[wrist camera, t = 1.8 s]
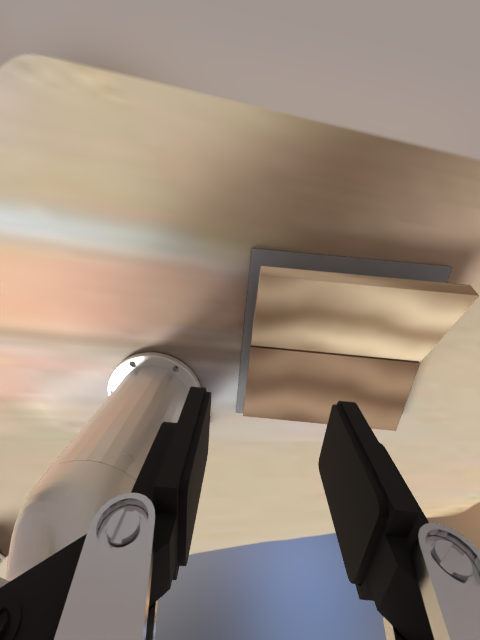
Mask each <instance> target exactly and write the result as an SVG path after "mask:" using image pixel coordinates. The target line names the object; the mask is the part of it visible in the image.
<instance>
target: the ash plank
mask: <svg viewBox="0 0 480 640" xmlns="http://www.w3.org/2000/svg"><path fill="white" fill-rule="evenodd" d="M478 297H479V295H478V294H477V293H476V292H475V290H474V289H473V288H472V287H471V286H470V285H464V284H453V283H442V282H431V281H420V280H410V279H399V278H388V277H377V276H366V275H355V274H344V273H334V272H323V271H312V270H301V269H290V268H279V267H268V266H261V268H260V275H259V283H258V290H257V298H256V305H255V313H254V320H253V327H252V335H251V345H254V346H265V347H275V348H286V349H296V350H307V351H317V352H328V353H338V354H349V355H359V356H370V357H380V358H391V359H401V360H412V361H422V360H423V359H424V358H425V356H426V355H427V354H428V353H429V352H430V351H431V350H432V348H433V347H434V346H435V345H436V344H437V343H438V342H439V341H440V339H441V338H442V337H443V336H444V335H445V334H446V333H447V332H448V330H449V329H450V328H451V327H452V326H453V325H454V324H455V323H456V321H457V320H458V319H459V318H460V317H461V316H462V315H463V314H464V312H465V311H466V310H467V309H468V308H469V307H470V306H471V305H472V303H473V302H474V301H475V300H476V299H477V298H478Z"/></svg>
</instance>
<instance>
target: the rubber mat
mask: <svg viewBox="0 0 480 640" xmlns="http://www.w3.org/2000/svg"><path fill="white" fill-rule="evenodd" d="M261 266H268V267H279V268H290V269H301V270H312V271H323V272H334V273H344V274H355V275H366V276H377V277H388V278H399V279H410V280H420V281H431V282H442V283H447V280H448V278H449V275H450V272H451V269H452V267H450V266H440V265H429V264H418V263H407V262H396V261H385V260H375V259H364V258H353V257H342V256H331V255H320V254H309V253H298V252H287V251H276V250H265V249H254V248H252V250H251V260H250V270H249V281H248V291H247V301H246V312H245V322H244V332H243V342H242V353H241V363H240V373H239V384H238V394H237V404H236V413H243V408H244V399H245V389H246V380H247V371H248V362H249V352H250V343H251V335H252V327H253V320H254V313H255V305H256V298H257V290H258V283H259V275H260V268H261ZM418 362H419V361H418Z"/></svg>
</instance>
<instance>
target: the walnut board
mask: <svg viewBox="0 0 480 640" xmlns="http://www.w3.org/2000/svg"><path fill="white" fill-rule="evenodd" d="M419 364H420V363H419V362H418V361H412V360H401V359H391V358H380V357H370V356H359V355H349V354H338V353H328V352H317V351H307V350H296V349H286V348H275V347H265V346H254V345H251V343H250V352H249V362H248V371H247V380H246V389H245V399H244V408H243V416H249V417H260V418H270V419H280V420H290V421H301V422H311V423H321V424H328V420H329V416H330V412H331V408H332V405H333V404H336V405H337V403H338V401H347V402H355V403H356V404H357V405H358V407H359V409H360V410H361V412H362V414H363V416H364V417H365V419H366V421H367V423H368V424H369V426H370V428H372V429H382V430H393V431H396V429H397V426H398V424H399V421H400V418H401V415H402V412H403V409H404V407H405V404H406V401H407V398H408V395H409V392H410V389H411V387H412V384H413V381H414V378H415V375H416V372H417V370H418V367H419Z"/></svg>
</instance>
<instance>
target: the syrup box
mask: <svg viewBox="0 0 480 640" xmlns="http://www.w3.org/2000/svg"><path fill="white" fill-rule="evenodd" d="M4 560H5V556H3V555H2V554H1V553H0V565H1V564H2V562H3V561H4Z"/></svg>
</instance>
